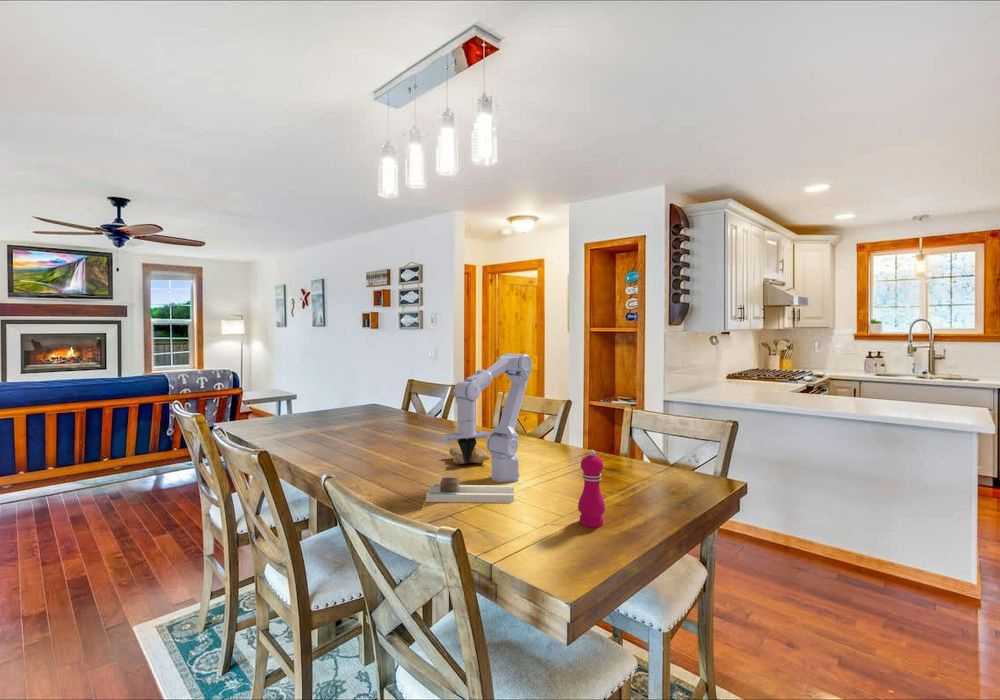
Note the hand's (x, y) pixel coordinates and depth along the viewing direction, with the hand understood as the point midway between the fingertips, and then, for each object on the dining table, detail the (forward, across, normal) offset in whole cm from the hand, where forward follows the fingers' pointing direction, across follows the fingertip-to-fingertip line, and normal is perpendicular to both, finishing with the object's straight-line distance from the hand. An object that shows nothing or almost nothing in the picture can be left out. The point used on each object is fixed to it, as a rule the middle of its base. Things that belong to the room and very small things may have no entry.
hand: (466, 462), depth 159 cm
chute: (+10, 0, +5) cm, 11 cm away
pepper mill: (+10, -26, +33) cm, 43 cm away
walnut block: (+9, +6, +3) cm, 11 cm away
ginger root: (+11, -10, -34) cm, 37 cm away
